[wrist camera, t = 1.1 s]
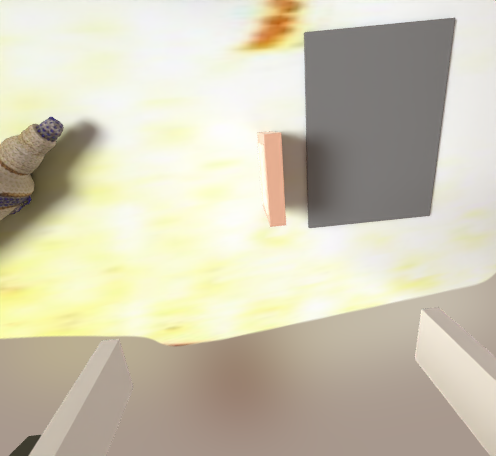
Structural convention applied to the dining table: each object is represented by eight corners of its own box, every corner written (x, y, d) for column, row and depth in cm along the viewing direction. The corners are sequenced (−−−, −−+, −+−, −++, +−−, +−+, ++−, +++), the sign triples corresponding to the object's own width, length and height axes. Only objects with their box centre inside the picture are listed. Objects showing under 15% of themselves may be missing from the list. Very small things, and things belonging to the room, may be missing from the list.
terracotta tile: (256, 132, 33) (262, 134, 26) (270, 131, 33) (281, 132, 26) (262, 206, 36) (269, 226, 29) (275, 204, 36) (285, 225, 29)
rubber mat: (304, 33, 30) (304, 32, 30) (452, 19, 30) (455, 17, 30) (308, 227, 38) (309, 228, 37) (427, 214, 38) (429, 215, 37)
